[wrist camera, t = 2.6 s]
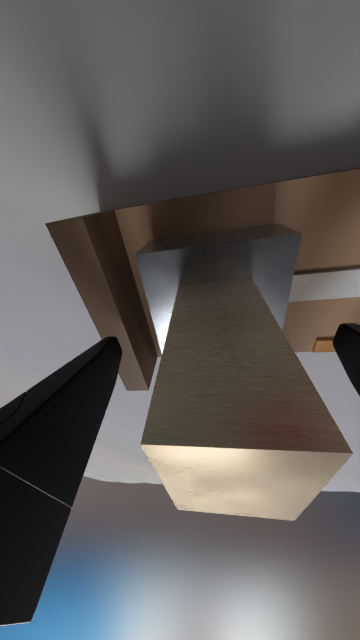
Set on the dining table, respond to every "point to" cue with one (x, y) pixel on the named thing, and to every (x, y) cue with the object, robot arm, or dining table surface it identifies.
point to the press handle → (233, 378)
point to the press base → (212, 216)
